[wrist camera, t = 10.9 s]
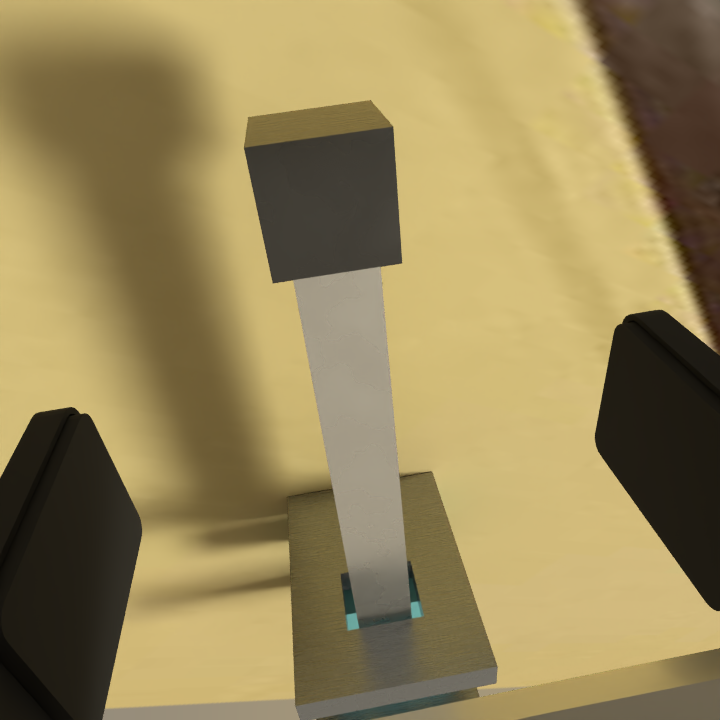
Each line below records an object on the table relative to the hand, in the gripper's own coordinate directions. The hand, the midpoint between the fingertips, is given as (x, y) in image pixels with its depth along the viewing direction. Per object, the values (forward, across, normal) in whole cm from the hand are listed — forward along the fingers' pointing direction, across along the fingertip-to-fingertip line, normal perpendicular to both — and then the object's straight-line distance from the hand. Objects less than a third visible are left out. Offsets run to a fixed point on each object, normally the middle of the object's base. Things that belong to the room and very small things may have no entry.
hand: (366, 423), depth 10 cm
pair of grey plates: (+24, -1, +34) cm, 42 cm away
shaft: (+17, -1, +13) cm, 21 cm away
